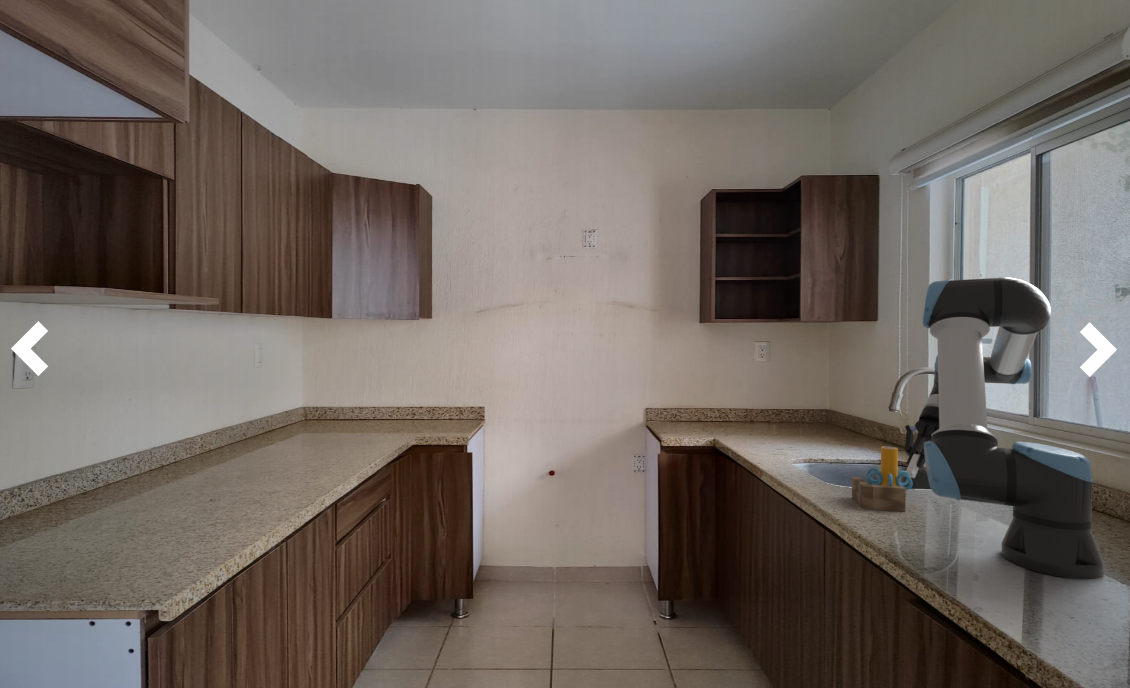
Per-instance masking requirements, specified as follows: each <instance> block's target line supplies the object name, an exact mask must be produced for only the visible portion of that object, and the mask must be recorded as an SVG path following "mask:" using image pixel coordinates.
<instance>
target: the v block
mask: <svg viewBox="0 0 1130 688" xmlns="http://www.w3.org/2000/svg"><path fill="white" fill-rule="evenodd" d="M904 487H905V486H903V487H902V486H884V485H870V484H869V482H866V481H865V480H864V479H863V478H862V477H860V476H851V499H853V501H855V503H856V504H857V505H859V506H860V508H862V510H875V511H889V512H891V511H892V512H893V511H894V512H904V513H905V512H906V503H907V502H906V496H907V494H906V492H907V490H906V489H905V488H904Z"/></svg>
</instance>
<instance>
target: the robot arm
mask: <svg viewBox="0 0 1130 688" xmlns="http://www.w3.org/2000/svg"><path fill="white" fill-rule="evenodd" d="M923 308H924V310H923V315H922V317H923V318H922V327H924V328H926V329H929V333H930V335H931V336H932V337H934V338H935V339H936V340H937V355H936V358H935V362H934V374H933V375H934V378H933V386H932V389H931V391H930V393H929V396H928V397H927V400H926V402H925V404H924V406H923V409H922V411H921V413H920V415H919V419H918V421H917V422H915V423H914V425H909V424H906V425H905V426H904V428H905V430H906V433H905V443H904V451H905V453H906V455H907V456H908V458H907V460H906V463H907V468H906V470H905V471H907V472H908V473H909V475H910V478H911V479H915V478H916V477H917V475H918V471H919V469H922V468H923V467H924V466H925V469H926V474H927V475H926V476H927V478H928V479H927V480H928V484H929V487H930V490H931V492H933V494H934V495H936V496H938V497H943V498H949V499H954V500H956V501H961V500H962V501H970V502H976V503H977V502H978V503H984V504H994V505H1001V506H1009V507H1012V519H1011V521H1010V523H1009V525H1008V528H1007V530H1006V531H1005V532H1006V533H1005V534H1004V536H1003V538H1002V541H1001V555H1002V556H1003V558H1005V559H1006V560H1008V561H1009V562H1011V563H1013V564H1015V565H1018V566H1020V567H1023V568H1025V569H1028V570H1032V571H1034V572H1037V573H1042V574H1046V575H1051V576H1055V577H1060V578H1066V579H1067V578H1068V579H1075V580H1096V579H1100V578H1103V577H1104V576H1105V563H1104V560H1103V558H1102V554H1101V553H1100V550H1099V547H1098V544H1097V543H1096V542H1097V541H1096V540H1095V537H1094V535H1093V531H1092V513H1093V512H1092V505H1093V503H1092V501H1093V500H1092V499H1093V496H1092V495H1093V491H1092V490H1093V483H1094V479H1093V474H1092V473H1093V472H1092V471H1093V470H1092V464H1091V463H1092V462H1091V461H1090V459H1089V458H1088V457H1087V456H1085V455H1083V454H1082V453H1079V452H1075V451H1072V450H1068V449H1066V448H1061V447H1058V446H1053V445H1046V444H1044V443H1043V444H1041V443H1035V442H1029V441H1014V442H1013V443H1012V445H1011V448H1009V447H1008V448H1005V447H999V445H998V438H997V437H996V436H995V435H994V434H992V433H991V432H990V431H989V430H988V428H989V427H988V413H987V400H986V399H987V398H986V397H987V396H986V384H1008V385H1016V384H1019V385H1020V384H1021V385H1022V384H1023V385H1025V384H1028V383H1030V382H1031V379H1032V372H1033V371H1032V370H1033V369H1032V362H1031V360H1030V359H1029V358H1028V356H1029V354H1030V351H1031V350H1032V348H1033V345H1034V343H1035V340H1036V338H1037V335H1038V333H1039V332H1041V331H1043V330H1044V329H1045V327H1046V326H1047V325H1048V323H1049V320H1050V318H1051V315H1052V314H1051V313H1052V312H1051V311H1052V310H1051V309H1052V308H1051V305H1050V302H1049V300H1048V299H1047V297H1046V296H1045V294H1044V293H1043V292H1042V291H1041V290H1040V289H1039V288H1038V287H1036V286H1035V285H1033V284H1031V283H1030V282H1027V281H1025V280H1023V279H1019V278H1014V277H1008V276H1007V277H1004V276H1003V277H1001V276H1000V277H989V278H988V277H987V278H973V279H972V278H971V279H955V280H953V279H951V278H949V279H946V280H938V281H937V280H936V281H933V282H931V283H930V284H929V285H928V287H927V291H926V295H925V301H924V307H923ZM991 327H995V328H996V327H997V328H998V330H997V332H996V333H997V334H996V337H995V340H994V345H993V348H992V351H991V355H990V356H984V350H983V349H984V348H983V338H984V337H986V336H987V335H988V334H989V332H990V330H991ZM916 431H917V436H916V438H915V441H914V436H915V434H916V433H915V432H916Z"/></svg>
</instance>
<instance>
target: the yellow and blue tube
mask: <svg viewBox="0 0 1130 688" xmlns="http://www.w3.org/2000/svg"><path fill="white" fill-rule="evenodd" d="M898 465H899V448H898V447H894V446H889V445H887V446H886V445H885V446H884V445H883V446H882V445H881V446H880V469H879V468H877V467H870V468H868V469H867V471H866V476H867V483H868V484H870V485H884V486H902V487H904V488H905V489H906V491H907V490H910V489H911V488H912V487H913V485H914V484H913V480H912V479H913V478H911V477H910V475H909V473H908V472H907V471H906V470H903V469H902V470H899V466H898ZM873 475H878V479H873V477H872V476H873ZM901 478H906V479H905V481H903V482H900V479H901ZM906 485H908V486H906Z"/></svg>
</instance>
